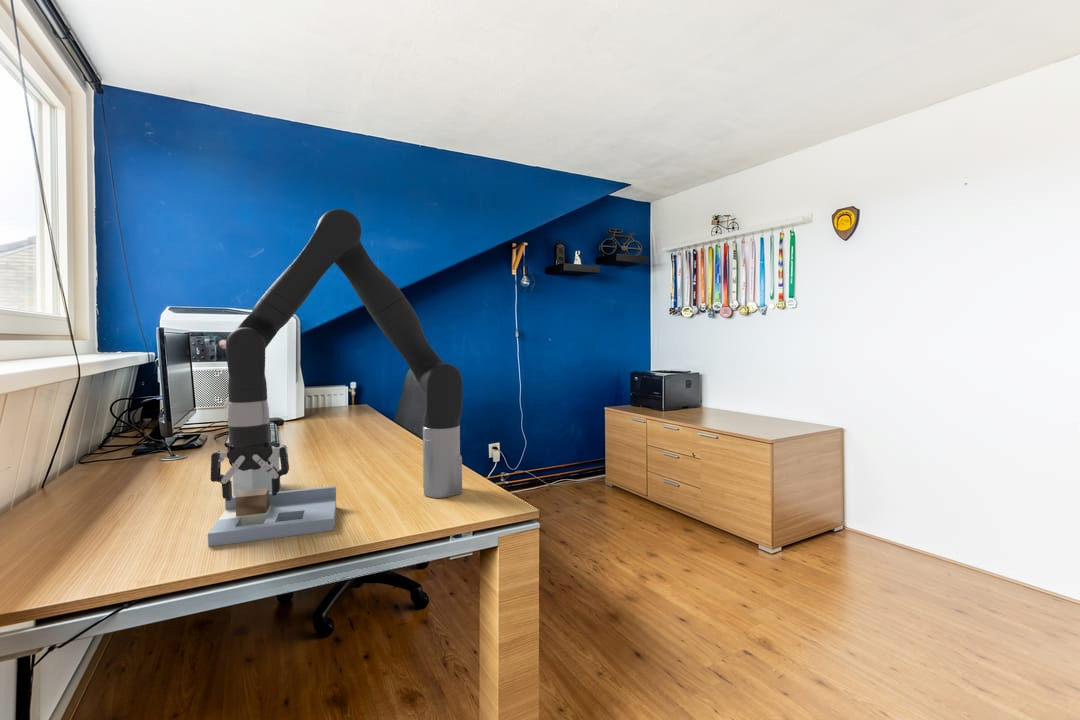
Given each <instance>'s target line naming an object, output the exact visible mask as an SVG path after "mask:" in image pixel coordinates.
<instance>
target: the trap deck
mask: <svg viewBox="0 0 1080 720" xmlns="http://www.w3.org/2000/svg"><path fill="white" fill-rule="evenodd" d="M235 497H236V496H233V495H232V499H231V500H230V501H226V498H224V504H225V505H224V506H225V510H224V511H223V513H221V515H220V517H219V518H218V520H217V521H216V522H215V523H214V524H213V526H212V528H211V529H210V531H208V533H207V547H215V546H216V547H217V546H222V545H230V544H238V543H239V544H240V543H247V542H256V541H261V540H262V541H264V540H270V539H277V538H278V539H280V538H286V537H294V536H302V535H310V534H317V533H324V532H332V531H335V524H336V522H335V521H336V515H337V514H336V512H337V486H336V485H332V486H320V487H311V488H302V489H300V488H299V489H293V490H280V492H278V493H277V495H275V496H272V492H270V493H269V508H268V510H267V512H266V513H262V514H253V515H244V516H236V498H235Z"/></svg>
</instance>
